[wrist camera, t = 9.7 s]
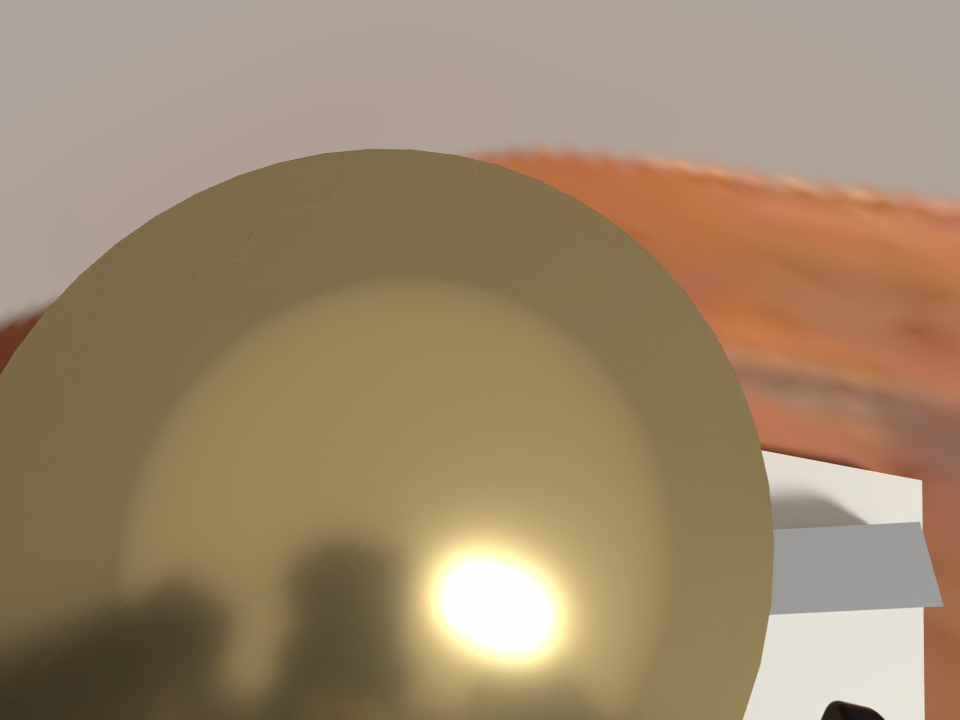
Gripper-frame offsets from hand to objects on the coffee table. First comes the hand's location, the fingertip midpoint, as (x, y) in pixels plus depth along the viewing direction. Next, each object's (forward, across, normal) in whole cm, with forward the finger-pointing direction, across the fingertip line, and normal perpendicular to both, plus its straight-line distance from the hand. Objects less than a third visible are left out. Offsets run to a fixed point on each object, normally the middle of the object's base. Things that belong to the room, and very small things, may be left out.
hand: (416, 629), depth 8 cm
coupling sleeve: (+8, 0, +6) cm, 10 cm away
